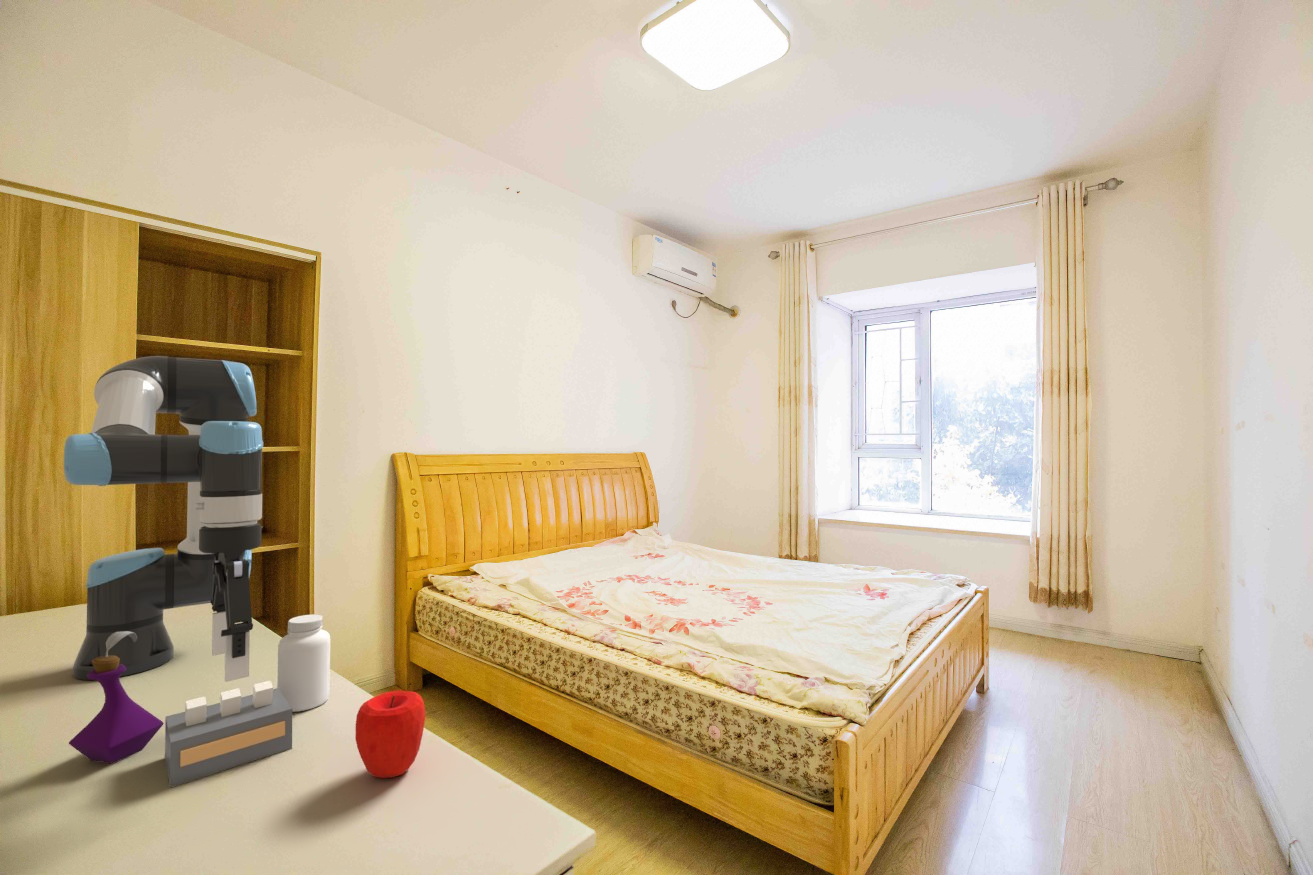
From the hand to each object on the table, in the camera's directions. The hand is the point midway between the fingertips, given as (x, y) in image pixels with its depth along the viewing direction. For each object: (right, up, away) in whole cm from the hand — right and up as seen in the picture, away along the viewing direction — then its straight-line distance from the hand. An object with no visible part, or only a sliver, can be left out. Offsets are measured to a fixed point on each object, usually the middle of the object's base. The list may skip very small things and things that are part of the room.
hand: (229, 665), depth 85 cm
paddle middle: (0, -7, 0) cm, 7 cm away
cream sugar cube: (+3, -7, +2) cm, 8 cm away
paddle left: (-2, -7, -3) cm, 8 cm away
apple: (+27, -13, -6) cm, 30 cm away
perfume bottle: (-16, -13, -1) cm, 21 cm away
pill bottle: (+1, -13, +16) cm, 21 cm away
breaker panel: (0, -13, -1) cm, 13 cm away
